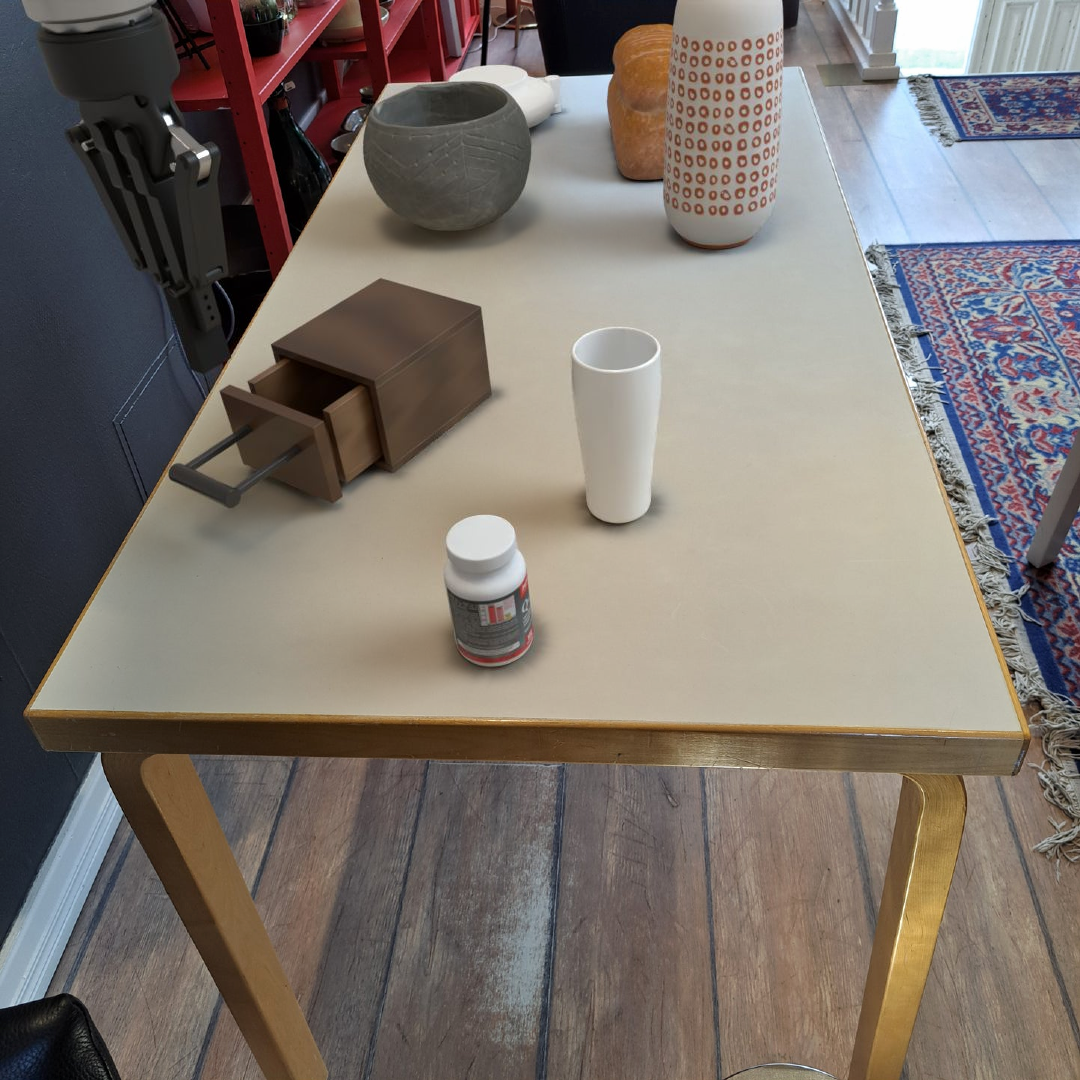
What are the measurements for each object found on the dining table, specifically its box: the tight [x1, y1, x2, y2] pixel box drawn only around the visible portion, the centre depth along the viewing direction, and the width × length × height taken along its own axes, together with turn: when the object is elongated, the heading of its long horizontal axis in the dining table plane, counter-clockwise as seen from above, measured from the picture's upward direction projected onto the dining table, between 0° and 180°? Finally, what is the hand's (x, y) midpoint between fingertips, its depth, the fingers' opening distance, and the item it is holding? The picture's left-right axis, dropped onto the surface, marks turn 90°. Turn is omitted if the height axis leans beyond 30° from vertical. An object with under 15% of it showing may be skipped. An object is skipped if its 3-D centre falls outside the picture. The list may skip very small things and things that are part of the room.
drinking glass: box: [570, 326, 663, 524], centre depth 77 cm, size 7×7×15 cm
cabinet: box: [270, 277, 493, 473], centre depth 92 cm, size 15×13×10 cm
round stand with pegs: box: [447, 64, 563, 129], centre depth 155 cm, size 24×24×7 cm
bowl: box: [362, 81, 532, 232], centre depth 124 cm, size 21×21×15 cm
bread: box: [606, 23, 673, 181], centre depth 139 cm, size 14×26×15 cm, turn 0°
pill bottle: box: [443, 514, 534, 667], centre depth 68 cm, size 6×6×10 cm
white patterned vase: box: [662, 0, 784, 250], centre depth 111 cm, size 13×13×28 cm
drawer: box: [167, 357, 384, 509], centre depth 85 cm, size 22×11×8 cm, turn 145°
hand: (210, 363), depth 73 cm, fingers closed
